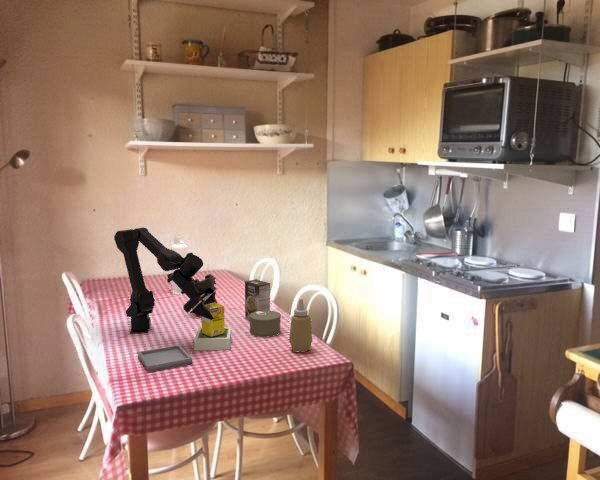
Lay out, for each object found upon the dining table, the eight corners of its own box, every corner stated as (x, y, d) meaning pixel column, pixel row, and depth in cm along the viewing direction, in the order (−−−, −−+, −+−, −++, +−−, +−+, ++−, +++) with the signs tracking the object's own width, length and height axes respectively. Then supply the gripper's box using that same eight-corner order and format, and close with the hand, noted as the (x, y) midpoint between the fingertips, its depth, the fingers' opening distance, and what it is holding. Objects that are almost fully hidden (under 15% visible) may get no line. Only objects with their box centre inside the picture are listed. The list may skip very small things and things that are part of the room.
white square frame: (194, 350, 179) (194, 339, 178) (198, 338, 190) (198, 328, 190) (229, 349, 180) (229, 338, 179) (231, 337, 191) (231, 327, 191)
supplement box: (225, 335, 185) (224, 305, 183) (211, 339, 180) (210, 308, 179) (215, 331, 189) (214, 302, 187) (201, 334, 185) (200, 305, 183)
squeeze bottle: (292, 355, 175) (292, 303, 172) (286, 347, 182) (286, 297, 179) (315, 352, 177) (315, 301, 174) (308, 344, 184) (308, 295, 182)
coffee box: (244, 319, 214) (244, 281, 211) (256, 316, 218) (256, 278, 216) (258, 324, 207) (258, 285, 205) (270, 320, 212) (270, 282, 209)
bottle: (180, 295, 251) (179, 238, 246) (168, 293, 255) (166, 237, 251) (192, 292, 257) (191, 236, 253) (180, 289, 262) (178, 235, 257)
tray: (138, 357, 172) (137, 351, 172) (179, 350, 179) (179, 344, 178) (148, 372, 160) (148, 366, 160) (192, 363, 167) (192, 358, 166)
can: (260, 339, 190) (259, 321, 189) (243, 331, 199) (243, 313, 198) (287, 333, 197) (287, 316, 196) (269, 325, 206) (269, 308, 205)
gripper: (191, 274, 172) (223, 308, 172) (210, 263, 191) (239, 294, 190) (169, 295, 175) (201, 329, 175) (191, 283, 193) (219, 313, 193)
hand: (216, 315), depth 183 cm, fingers closed on supplement box, 8 cm apart
